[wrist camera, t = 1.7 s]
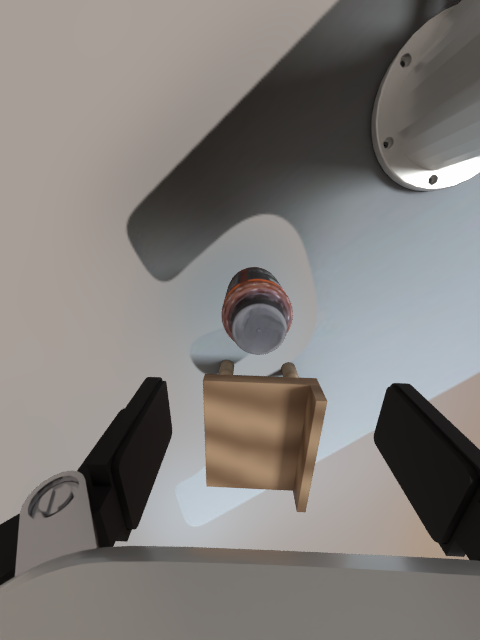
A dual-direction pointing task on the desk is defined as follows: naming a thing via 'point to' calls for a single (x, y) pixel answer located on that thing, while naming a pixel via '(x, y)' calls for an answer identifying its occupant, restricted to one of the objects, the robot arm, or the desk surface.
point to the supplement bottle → (256, 311)
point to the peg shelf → (262, 430)
